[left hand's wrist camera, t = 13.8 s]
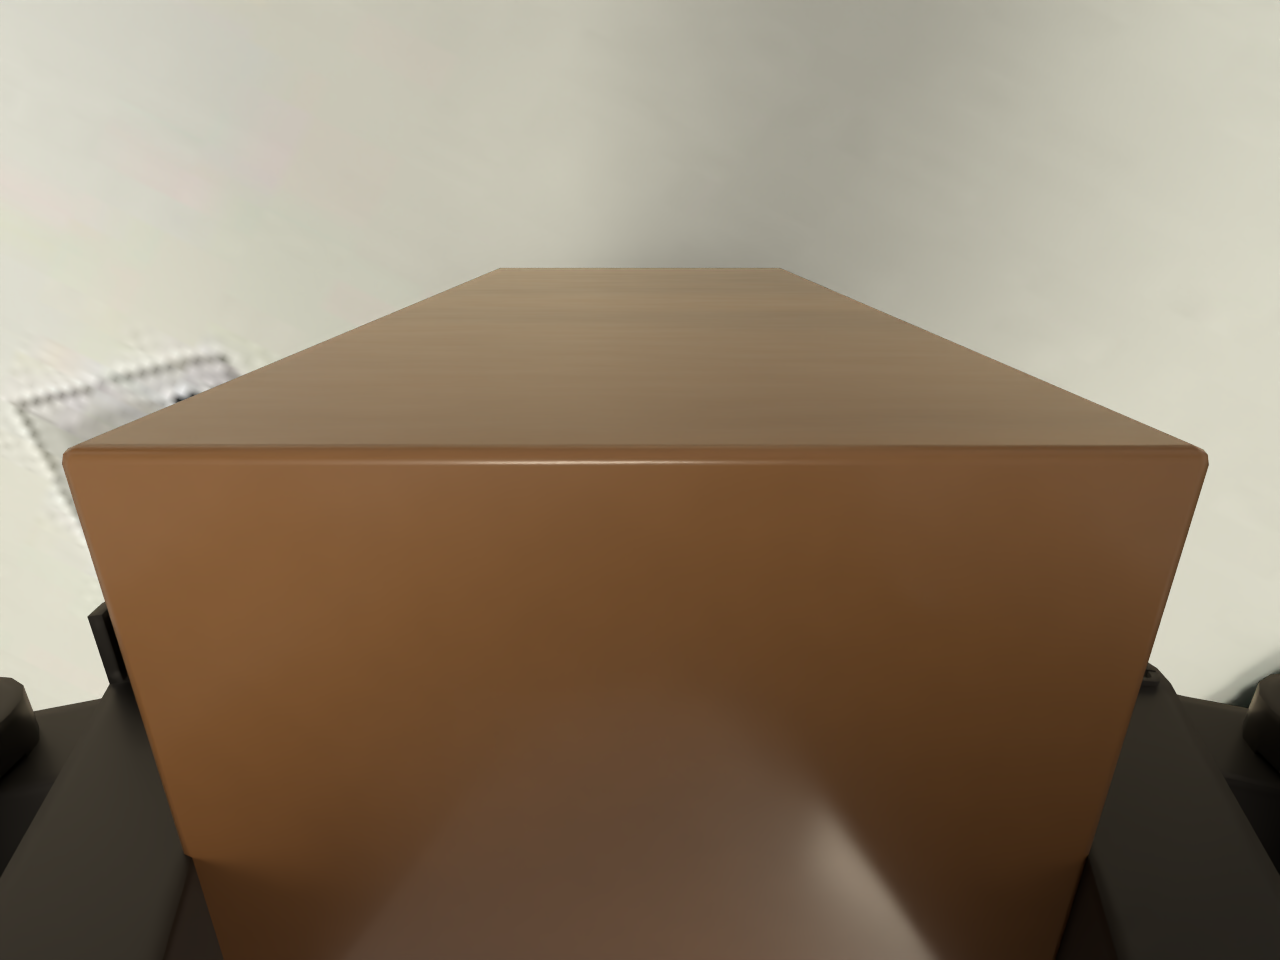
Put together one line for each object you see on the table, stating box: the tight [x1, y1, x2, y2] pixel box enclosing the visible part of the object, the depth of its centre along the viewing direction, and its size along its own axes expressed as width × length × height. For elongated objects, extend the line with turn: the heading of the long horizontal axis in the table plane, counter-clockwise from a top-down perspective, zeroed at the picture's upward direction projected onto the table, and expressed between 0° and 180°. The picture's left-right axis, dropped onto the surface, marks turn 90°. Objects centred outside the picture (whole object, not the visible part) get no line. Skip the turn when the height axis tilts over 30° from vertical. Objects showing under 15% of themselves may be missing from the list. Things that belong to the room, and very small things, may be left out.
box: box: [62, 268, 1209, 960], centre depth 14 cm, size 25×6×13 cm, turn 0°
